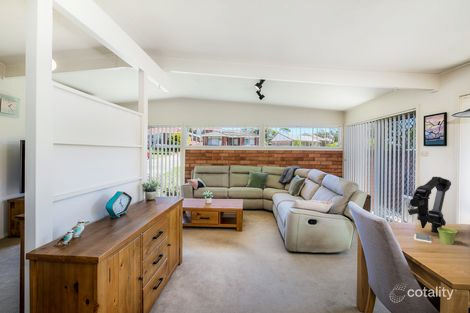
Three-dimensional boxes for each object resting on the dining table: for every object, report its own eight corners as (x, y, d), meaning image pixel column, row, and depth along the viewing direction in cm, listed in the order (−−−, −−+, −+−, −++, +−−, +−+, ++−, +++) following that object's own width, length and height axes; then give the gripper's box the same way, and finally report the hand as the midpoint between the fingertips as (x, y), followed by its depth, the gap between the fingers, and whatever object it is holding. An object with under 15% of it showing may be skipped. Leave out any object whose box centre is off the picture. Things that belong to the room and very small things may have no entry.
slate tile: (416, 232, 165) (415, 236, 159) (429, 235, 161) (429, 238, 155) (416, 235, 165) (415, 238, 159) (429, 237, 161) (429, 241, 155)
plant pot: (460, 247, 146) (461, 233, 146) (442, 245, 148) (443, 231, 148) (450, 241, 155) (450, 228, 155) (433, 240, 157) (433, 227, 157)
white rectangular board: (414, 234, 168) (414, 233, 168) (430, 237, 163) (430, 236, 163) (413, 240, 157) (413, 239, 157) (431, 243, 152) (431, 242, 152)
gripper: (409, 201, 178) (408, 222, 178) (408, 206, 163) (408, 229, 163) (428, 203, 171) (428, 225, 171) (429, 208, 156) (429, 232, 157)
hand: (422, 228), depth 166 cm, fingers closed
